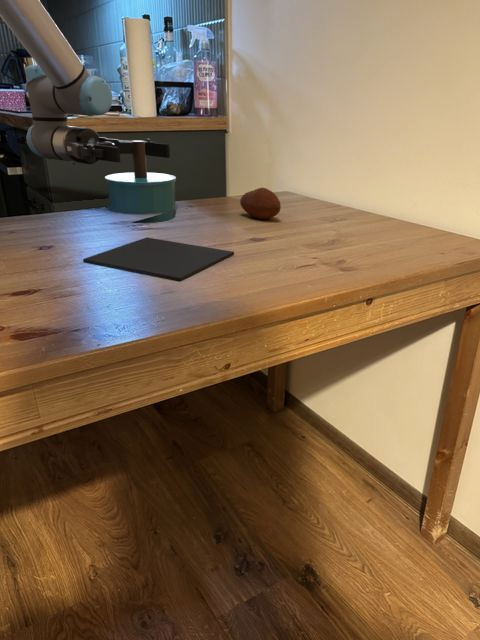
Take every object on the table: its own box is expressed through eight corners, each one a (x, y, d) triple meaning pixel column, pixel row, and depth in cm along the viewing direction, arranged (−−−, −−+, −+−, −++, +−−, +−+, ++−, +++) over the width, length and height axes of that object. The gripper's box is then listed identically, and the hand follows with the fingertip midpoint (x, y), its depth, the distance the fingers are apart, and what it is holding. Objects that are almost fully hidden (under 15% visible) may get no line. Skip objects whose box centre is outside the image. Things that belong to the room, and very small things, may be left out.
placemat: (83, 262, 77) (82, 258, 77) (147, 240, 90) (146, 237, 90) (180, 281, 71) (180, 277, 70) (234, 254, 84) (234, 251, 83)
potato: (251, 211, 116) (252, 182, 113) (289, 220, 109) (291, 189, 106) (232, 215, 112) (233, 185, 109) (271, 224, 105) (272, 192, 102)
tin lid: (90, 184, 102) (84, 140, 98) (135, 176, 114) (132, 137, 110) (148, 191, 96) (145, 145, 93) (189, 182, 108) (188, 141, 105)
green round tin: (97, 217, 105) (93, 180, 102) (138, 207, 116) (135, 173, 113) (150, 226, 100) (147, 187, 97) (187, 214, 111) (186, 179, 108)
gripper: (123, 159, 123) (187, 167, 113) (31, 167, 105) (96, 177, 94) (120, 126, 120) (185, 131, 109) (24, 128, 101) (91, 134, 91)
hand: (144, 152), depth 102 cm, fingers open, 13 cm apart
